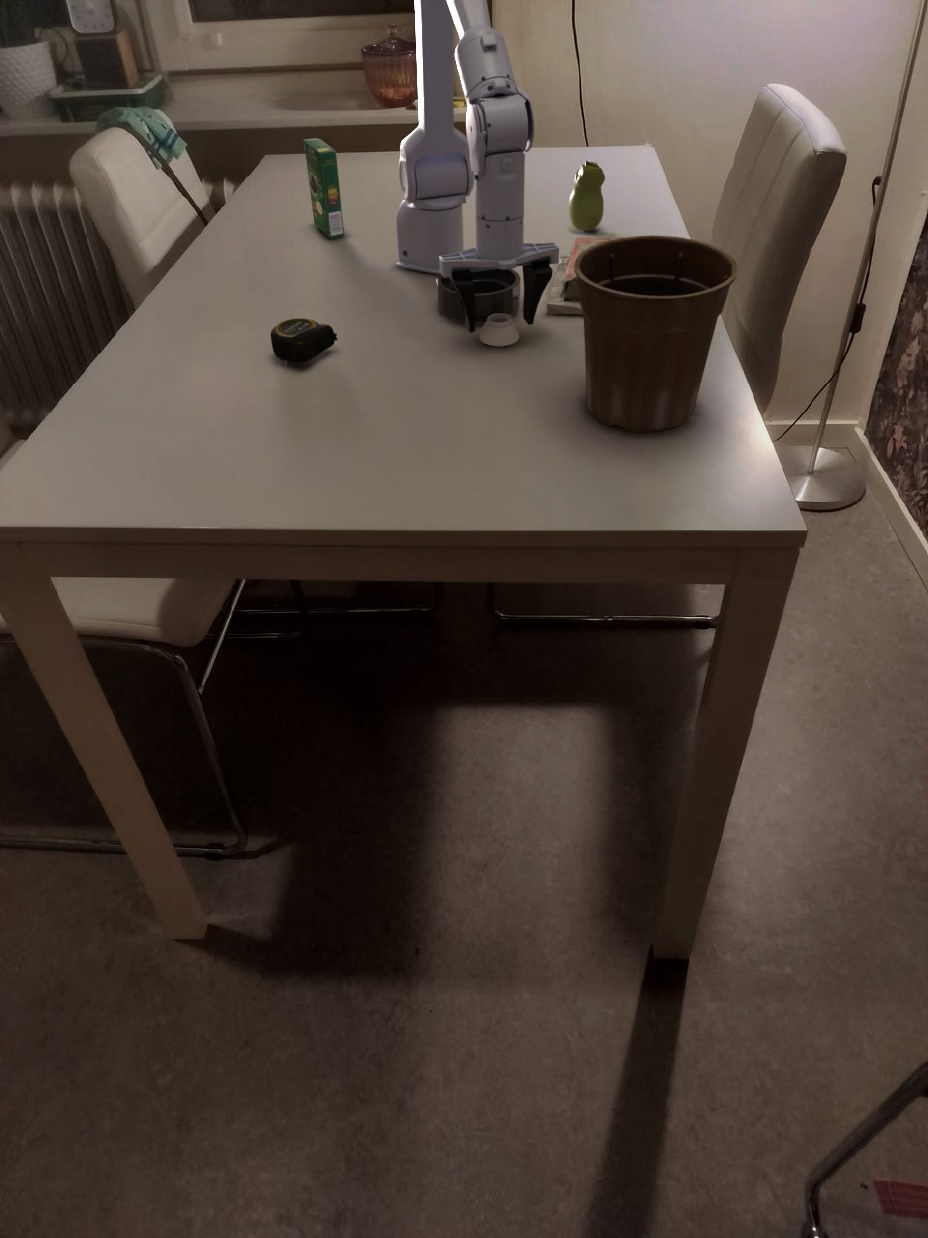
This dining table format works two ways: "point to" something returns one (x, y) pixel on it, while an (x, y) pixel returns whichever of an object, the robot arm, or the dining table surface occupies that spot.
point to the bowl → (482, 294)
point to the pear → (587, 197)
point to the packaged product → (569, 280)
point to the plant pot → (649, 326)
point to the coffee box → (324, 187)
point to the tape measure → (301, 339)
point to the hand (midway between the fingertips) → (499, 325)
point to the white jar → (499, 331)
